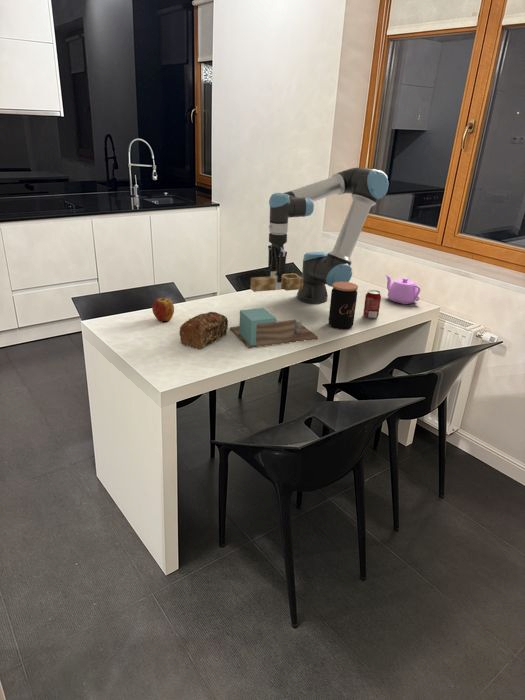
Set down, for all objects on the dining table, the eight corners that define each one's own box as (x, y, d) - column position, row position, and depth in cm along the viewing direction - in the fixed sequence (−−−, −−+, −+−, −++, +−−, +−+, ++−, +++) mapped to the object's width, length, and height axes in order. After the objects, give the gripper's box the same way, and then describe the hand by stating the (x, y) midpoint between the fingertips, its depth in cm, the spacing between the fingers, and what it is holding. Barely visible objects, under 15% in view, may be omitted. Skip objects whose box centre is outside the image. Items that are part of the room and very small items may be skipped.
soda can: (378, 320, 220) (381, 294, 215) (362, 318, 221) (366, 293, 217) (377, 315, 226) (381, 290, 221) (362, 313, 228) (366, 288, 223)
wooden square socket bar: (255, 293, 206) (256, 281, 204) (248, 287, 212) (249, 276, 210) (302, 289, 214) (303, 278, 212) (294, 284, 221) (295, 273, 219)
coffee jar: (337, 331, 206) (342, 290, 198) (323, 323, 214) (327, 282, 207) (358, 328, 211) (363, 287, 203) (343, 319, 219) (347, 280, 212)
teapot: (424, 302, 247) (428, 279, 242) (411, 308, 238) (416, 284, 233) (388, 293, 259) (391, 271, 254) (375, 298, 250) (378, 275, 245)
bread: (201, 351, 182) (200, 326, 178) (178, 344, 187) (177, 319, 183) (229, 335, 197) (229, 312, 193) (207, 329, 202) (207, 306, 198)
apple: (148, 320, 208) (147, 297, 204) (165, 315, 215) (165, 293, 210) (161, 326, 203) (160, 302, 199) (179, 321, 209) (178, 298, 205)
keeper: (239, 336, 196) (239, 310, 192) (262, 333, 200) (263, 307, 196) (250, 348, 186) (251, 320, 182) (274, 344, 190) (276, 318, 186)
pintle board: (229, 329, 203) (230, 316, 200) (294, 321, 214) (295, 309, 212) (248, 348, 186) (248, 335, 184) (317, 338, 198) (318, 326, 195)
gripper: (261, 229, 209) (259, 282, 219) (278, 237, 195) (276, 294, 204) (277, 228, 212) (275, 281, 221) (295, 236, 198) (292, 292, 207)
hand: (275, 287), depth 213 cm, fingers closed on wooden square socket bar, 4 cm apart
